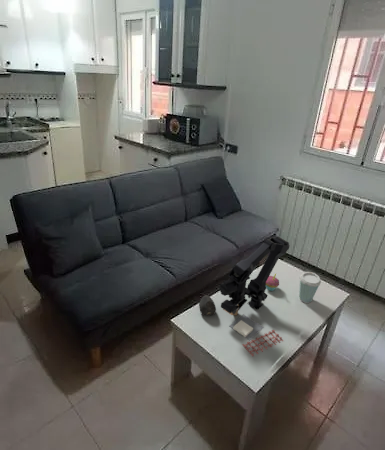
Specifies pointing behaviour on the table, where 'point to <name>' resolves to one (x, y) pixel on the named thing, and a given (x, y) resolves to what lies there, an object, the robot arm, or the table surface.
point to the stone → (207, 306)
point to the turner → (232, 313)
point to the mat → (251, 323)
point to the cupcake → (272, 283)
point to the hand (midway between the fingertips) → (235, 312)
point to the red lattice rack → (262, 342)
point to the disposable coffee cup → (308, 286)
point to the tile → (243, 328)
